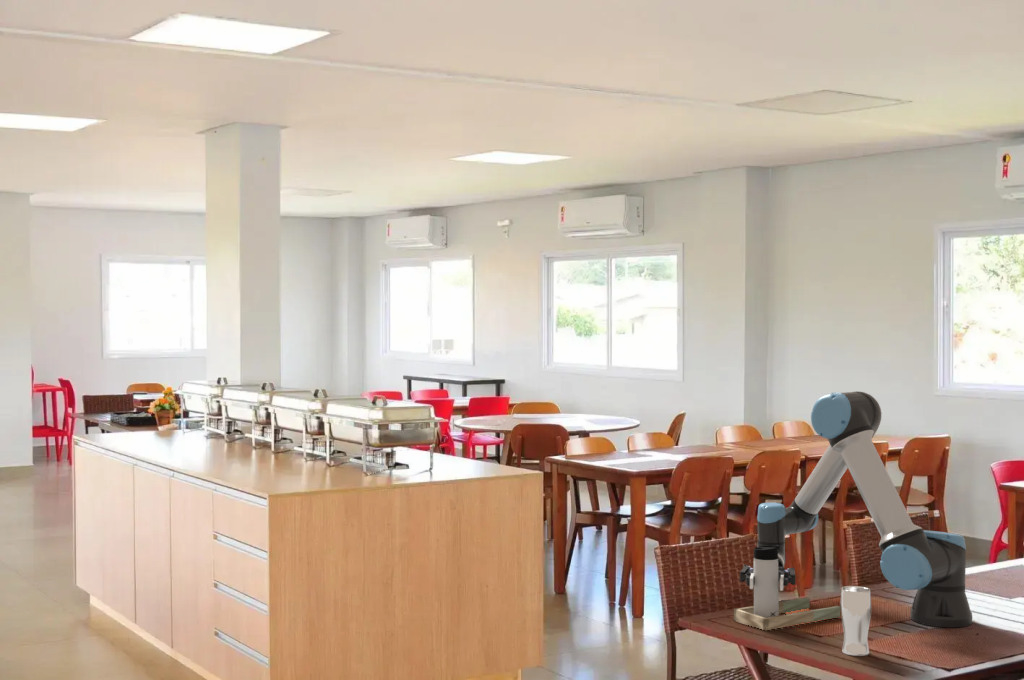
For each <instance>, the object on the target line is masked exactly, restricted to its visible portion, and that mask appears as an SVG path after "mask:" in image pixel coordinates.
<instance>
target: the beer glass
mask: <svg viewBox="0 0 1024 680" xmlns="http://www.w3.org/2000/svg"><path fill="white" fill-rule="evenodd" d="M840 590H841V591H840V592H841V593H840V603H839V607H840V619H841V625H842V631H843V644H842V648H841V651H842V653H843V654H844V655H847V656H851V657H852V656H853V657H864V656H865V657H866V656H868V655H870V649H869V644H868V634H869V628H870V623H871V617H872V597H871V596H872V595H871V589H870V588H868V587H864V586H858V585H845V586H842V587H841V589H840Z"/></svg>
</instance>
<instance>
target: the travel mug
mask: <svg viewBox="0 0 1024 680" xmlns="http://www.w3.org/2000/svg"><path fill="white" fill-rule="evenodd" d="M777 549H780V548H779V545H767V546H759V547H757V546H756V547H754V549H753V567H754V586H753V606H754V614H755V615H758V616H761V617H765V618H769V617H774V616H780V614H779V602H780V601H779V581H778V551H777Z"/></svg>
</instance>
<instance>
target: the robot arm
mask: <svg viewBox="0 0 1024 680" xmlns="http://www.w3.org/2000/svg"><path fill="white" fill-rule="evenodd" d="M881 421H882V409H881V406H880V404H879V402H878V400H877V399H876V398H875V397H873V395H871V394H870V393H867V392H865V391H852V392H851V391H850V392H847V391H846V392H839V391H837V392H831V393H828V394H825V395H822V396H821V397H819V398H818V399H817V400H816V402H814V404H813V406H812V410H811V413H810V423H811V426H812V428H813V430H814V432H815V433H816V434H817V435H818V436H820V437H822V438H824V439H826V440H827V441H828V443H829V445H828V447H827V448H826V450H825V451H824V453H823V454H822V456H821V457H820V459H819V460H818V462H817V463H816V466H815V467H814V468H813V470H812V472H811V473H810V474H809V476H808V477H807V479H806V481H805V483H804V484H803V485H802V487H801V489H800V490H799V492H798V494H797V495H796V497H795V498H794V500H793V501H792V502H791V504H790V505H789V506H788V507H785V505H784V504H782V503H779V502H762V503H760V504H759V505H758V508H757V516H756V521H757V525H756V526H757V543H756V544H757V545H756V547H759V546H767V545H779V548H780V549H777V551H778V582H779V591H780V592H781V591H784V586H787V587H788V586H789V584H790V585H792V586H794V585H795V586H796V580H797V579H796V576H797V575H796V569H795V567H792V566H791V567H789V568H787V569H786V568H785V564H786V551H785V549H786V547H785V546H786V545H785V544H786V536H787V535H792V534H798V533H806V532H808V531H811V530H813V529H815V528H816V526H817V525H818V522H819V512H820V511H821V509H822V507H823V506H824V504H825V503H826V502H827V500H828V498H829V497H830V496H831V493H832V492H833V491H834V489H835V488H836V486H837V485H838V483H839V482H840V480H841V478H842V477H843V476H844V474H845V473H846V472H847V470H848V472H849V473H850V475H851V477H852V480H853V481H854V483H855V485H856V487H857V490H858V491H859V493H860V496H861V498H862V499H863V502H864V504H865V506H866V508H867V510H868V512H869V515H870V517H871V518H872V521H873V523H874V525H875V527H876V529H877V531H878V533H879V534H880V537H881V538H880V541H879V543H878V548H879V549H880V550H881V553H882V554H881V556H880V562H879V564H880V570H881V573H882V575H883V576H884V578H885V579H886V580H887V582H889V584H891V585H892V586H893V587H895V588H898V589H901V590H903V591H911V590H912V591H913V590H916V593H915V596H914V599H913V602H912V606H911V608H910V619H911V620H912V621H913V622H916V623H918V624H922V625H926V626H932V627H940V628H961V627H968V626H971V625H972V624H973V613H972V611H971V607H970V603H969V599H968V597H967V594H966V562H967V561H966V558H967V556H966V554H967V548H966V539H965V537H964V536H963V535H961V534H958V533H951V532H945V531H937V530H936V531H935V530H926V529H925V530H924V529H923V528H922V527H921V526H919V525H918V524H917V525H916V524H914V523H913V521H912V519H911V516H910V515H909V513H908V510H907V509H906V507H905V505H904V503H903V500H902V498H901V496H900V495H899V493H898V490H897V489H896V487H895V484H894V482H893V481H892V478H891V476H890V474H889V472H888V471H887V469H886V467H885V464H884V463H883V461H882V458H881V457H880V455H879V452H878V450H877V448H876V446H875V445H874V442H873V440H872V439H873V438H874V437H875V435H876V433H877V431H878V430H879V427H880V424H881ZM739 581H740V582H741V583H743V582H745V583H746V586H749V590H754V566H752V567H751V566H750V565H747V564H743V567H742V569H741V570H740V571H739Z"/></svg>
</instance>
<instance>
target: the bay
mask: <svg viewBox="0 0 1024 680" xmlns="http://www.w3.org/2000/svg"><path fill="white" fill-rule="evenodd" d="M810 603H811V602H810V597H801V598H796V599H788V600H783V601H779V616H774V617H769V618H765V617H761V616H758V615H755V614H754V605H753V606H746V607H740V608H734V609H733V622H736V623H739V624H743V625H745V626H748V625H749V627H751V626H752V628H754V627H756V628H755V629H757V628H759V629H758V630H760V629H762V630H761V631H763V630H770V631H772V630H771V629H775V630H777V629H776V628H781V627H785V626H791V625H796V624H801V623H807V622H814V621H818V620H824V619H831V618H838V617H840V618H841V609H840V605H834V606H830V607H829V606H828V607H823V608H817V609H811V607H810ZM807 608H810V609H811V610H810V611H804V612H798V613H792V614H786V615H785V614H781V613H786V612H791V611H796V610H801V609H807ZM838 619H839V618H838ZM781 629H782V628H781Z"/></svg>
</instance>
